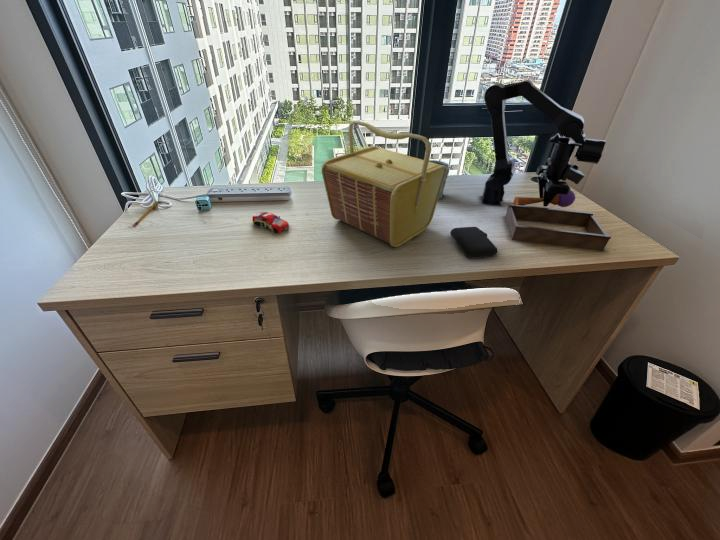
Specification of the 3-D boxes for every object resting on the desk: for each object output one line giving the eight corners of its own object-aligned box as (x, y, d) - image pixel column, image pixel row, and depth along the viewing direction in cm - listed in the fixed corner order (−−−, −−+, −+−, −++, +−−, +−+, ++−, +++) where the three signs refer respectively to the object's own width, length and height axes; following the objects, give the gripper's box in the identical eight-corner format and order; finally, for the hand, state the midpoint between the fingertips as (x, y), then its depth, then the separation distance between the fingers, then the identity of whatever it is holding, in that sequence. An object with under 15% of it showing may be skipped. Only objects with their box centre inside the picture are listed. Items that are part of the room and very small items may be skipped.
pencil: (135, 227, 104) (134, 225, 104) (132, 227, 104) (131, 225, 104) (160, 201, 119) (159, 199, 119) (158, 201, 119) (157, 199, 119)
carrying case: (502, 258, 93) (479, 232, 105) (505, 249, 91) (481, 223, 103) (466, 261, 92) (447, 234, 103) (469, 252, 90) (449, 225, 102)
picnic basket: (440, 226, 108) (458, 129, 90) (391, 258, 92) (400, 149, 74) (373, 199, 123) (377, 112, 106) (321, 223, 108) (315, 125, 90)
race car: (292, 229, 105) (291, 217, 102) (280, 236, 101) (279, 224, 99) (263, 217, 110) (261, 207, 108) (250, 224, 107) (248, 213, 104)
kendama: (513, 191, 116) (570, 187, 116) (511, 207, 118) (566, 203, 118) (521, 195, 110) (580, 190, 110) (518, 212, 113) (576, 208, 113)
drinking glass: (412, 192, 129) (416, 162, 122) (433, 188, 133) (438, 158, 126) (428, 202, 122) (433, 171, 115) (450, 197, 126) (456, 166, 119)
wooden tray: (511, 240, 101) (516, 226, 98) (504, 217, 114) (508, 203, 111) (603, 251, 97) (611, 237, 94) (586, 226, 109) (592, 212, 106)
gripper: (598, 170, 97) (576, 217, 106) (578, 151, 112) (560, 194, 121) (557, 166, 99) (539, 213, 108) (543, 148, 114) (528, 191, 123)
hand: (543, 202), depth 115 cm, fingers closed on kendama, 5 cm apart
